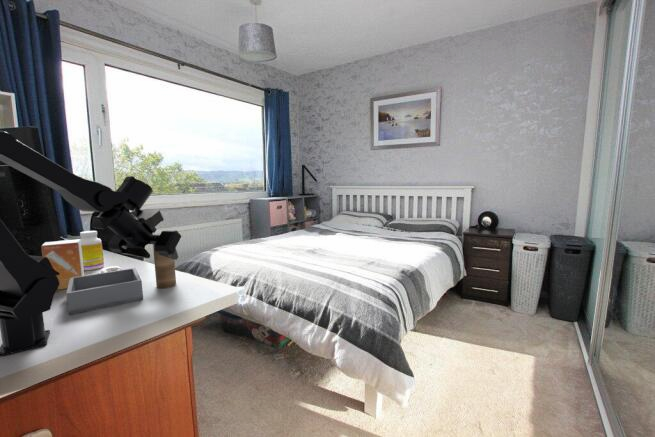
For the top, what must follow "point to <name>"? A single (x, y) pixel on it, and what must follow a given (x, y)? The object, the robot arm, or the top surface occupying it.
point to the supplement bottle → (91, 250)
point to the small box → (65, 259)
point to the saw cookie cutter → (110, 269)
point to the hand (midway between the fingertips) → (163, 257)
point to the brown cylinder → (164, 271)
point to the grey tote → (103, 290)
